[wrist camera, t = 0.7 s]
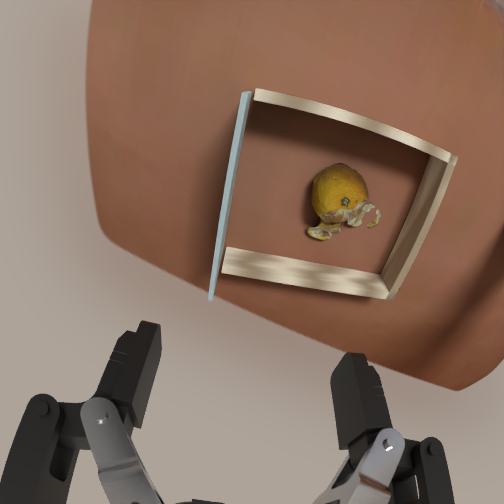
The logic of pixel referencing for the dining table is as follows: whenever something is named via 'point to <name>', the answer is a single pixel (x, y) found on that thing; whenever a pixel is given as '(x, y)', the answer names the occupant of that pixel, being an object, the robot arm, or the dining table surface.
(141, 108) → the dining table surface
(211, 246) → the dining table surface
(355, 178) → the fruit
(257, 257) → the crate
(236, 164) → the panel
